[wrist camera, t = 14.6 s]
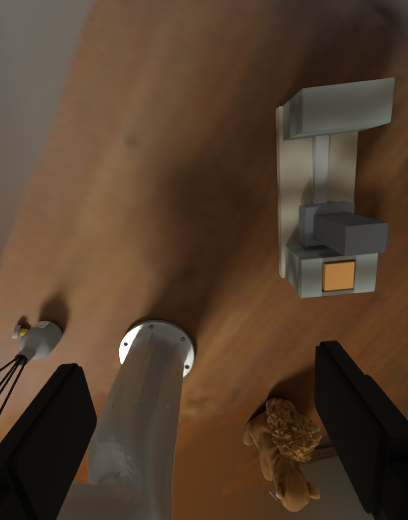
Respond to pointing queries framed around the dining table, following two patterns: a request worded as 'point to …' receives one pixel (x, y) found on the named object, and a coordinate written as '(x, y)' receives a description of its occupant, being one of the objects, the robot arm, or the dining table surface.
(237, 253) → the dining table surface
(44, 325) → the reed diffuser
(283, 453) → the stuffed squirrel
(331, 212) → the block
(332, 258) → the grey block assembly
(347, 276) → the button
